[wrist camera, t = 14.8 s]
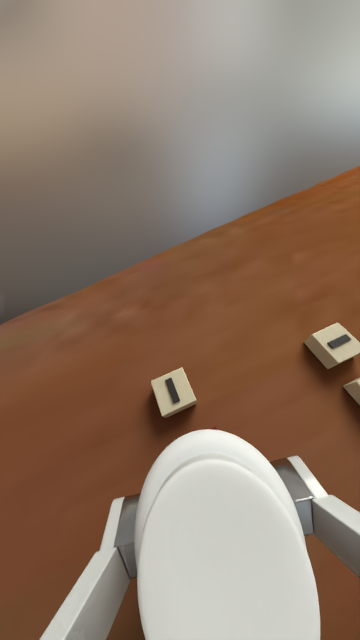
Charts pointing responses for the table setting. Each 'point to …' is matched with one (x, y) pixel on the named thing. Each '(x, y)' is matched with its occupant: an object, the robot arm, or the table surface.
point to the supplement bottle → (221, 547)
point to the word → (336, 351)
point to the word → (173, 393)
